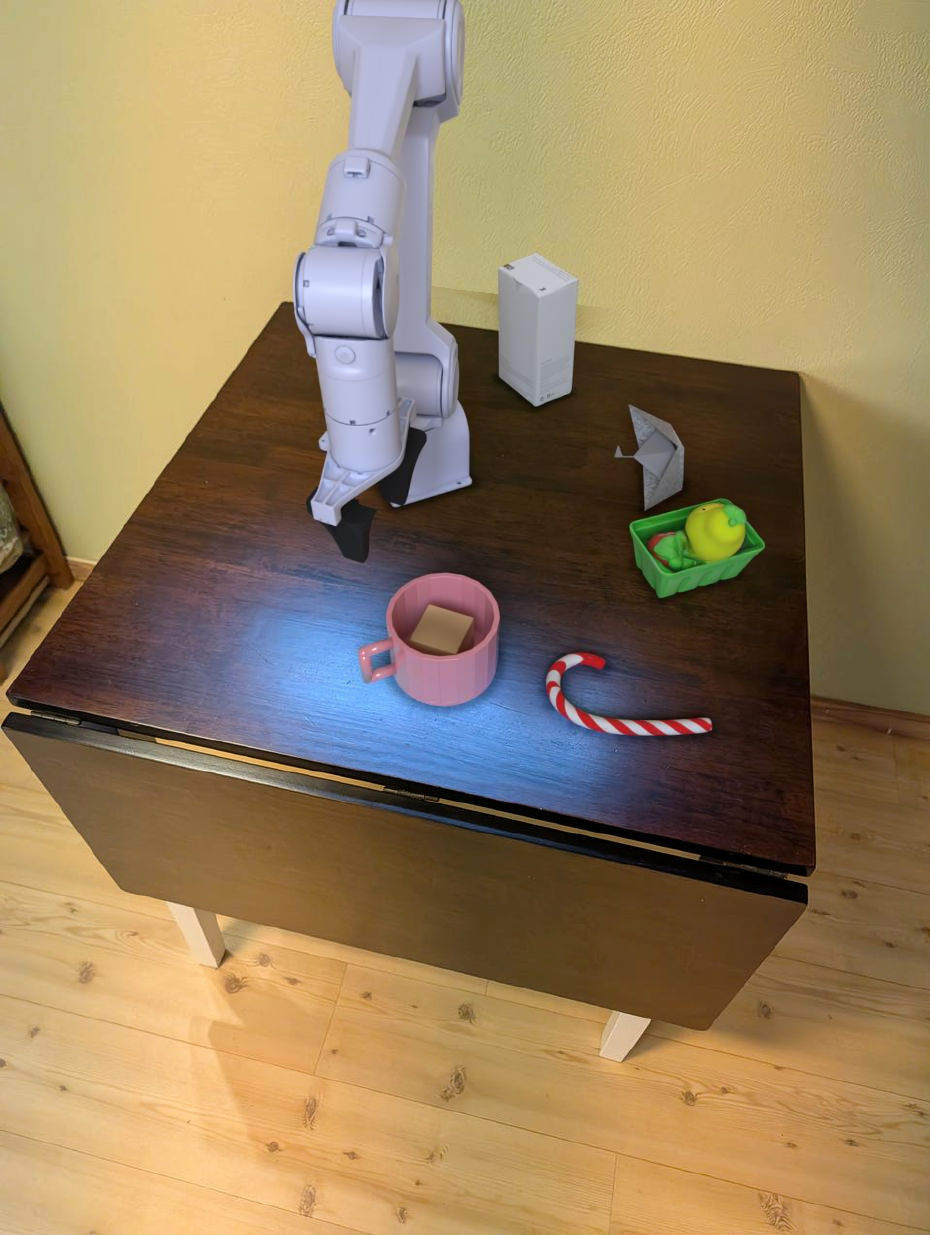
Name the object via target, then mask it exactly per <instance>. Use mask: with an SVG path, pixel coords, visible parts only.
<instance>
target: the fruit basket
mask: <svg viewBox="0 0 930 1235" xmlns="http://www.w3.org/2000/svg"><path fill="white" fill-rule="evenodd" d="M629 533H630V536H631V538H632V544H633V552H634V557H635V558H634V559H635V566H637V568H638V569H640V570H641V572H642V576H644V578H645V579H646V581H647V583H648V584H649V585H650V587H651V588H652V589H653V590H655V593H656V596H657V597H658V598H659V599H663V598H666V597H670V596H673V595H675V594H676V593H684V592H688V591H690V590H694V589H696V588H697V587H698V586H699V587H702V586H703V587H704V586H708V585H711V584H712V585H713V584H715V583H717V582H718V581H720V580H723V581H725V580H727V579H732V578H735V577H737V576H738V575H739V573H741V572H742V570H743V569H744V568H746V566H747V565H748V564H749V563H750V562H751V561H752V560H753V558H754V557H756V556H757V555H759V553H761V552H762V551H763V550H764V549H765V548H766V545H765V542H764V540H763V539H762V538H761V537H760V536H759V534H758V533H757V531H755V529H754V528H753V526H752V525H751V524H750V523H749V521H747V514H746V513H745V511H744V509H742V508H740V507H739V506H737V505H735V504H734V503H733V502H731V501H730V500H729V499H727V498H716V499H714V500H710V501H706V502H702V503H699V504H695V505H691V506H687V507H683V508H680V509H676V510H672V511H669V512H665V513H661V514H657V515H654V516H650V517H646V518H645V517H644V518H641V519H638V520H634V521H632V522H631V523H630V524H629Z"/></svg>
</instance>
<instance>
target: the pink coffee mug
mask: <svg viewBox="0 0 930 1235" xmlns="http://www.w3.org/2000/svg"><path fill="white" fill-rule="evenodd" d="M429 604H430V605H433V606H437V607H440V608H443V609H447V610H450V611H453V612H456V613H460V614H463V615H466V616H469V617H473V618H474V644H473V649H471V650H468V651H466V652H463V653H460V654H457V655H449V656H434V655H428V654H423V653H421V652H419V651H416V650H414V649H412V648H410V638H411V636H412V634H413V632H414V631H415V629H416V627H417V625H418V623H419V621H420V620H421V618H422V616H423V614H424V612H425V611H426V609H427V607H428V605H429ZM385 620H386V631H387V637H386V638H383V639H380V640H378V641H375V642H372V643H369V644H366V645H363V646H360V647H359V648H358V650H357V656H358V661H359V667H360V674H361V679H362V682H363V683H364V684H366V685H369V684H372V683H375V682H377V681H380V680H383V679H386V678H389V677H392V676H393V677H394V680H395V682H396V684H397V685H398V687H399V688H400V689H401V690H402V691H403V692H404V693H405V694H406V695H407V696H409V697H410V698H412V699H414V700H415V701H418V702H420V703H423V704H425V705H429V706H435V707H453V706H458V705H462V704H465V703H468V702H470V701H472V700H473V699H475V698H477V697H479V696H481V694H483V693H484V692H485V691H486V690H487V688H488V687H490V685H491V684H492V682H493V680H494V678H495V676H496V672H497V667H498V661H499V646H500V645H499V643H500V628H501V627H500V624H501V615H500V609H499V604H498V602H497V600H496V599H495V597H494V595H493V594H492V592H491V591H490V590H489V589H488V588H487V587H486V586H484V585H483V584H482V583H480V582H479V581H478V580H476V579H473V578H471V577H469V576H466V575H463V574H458V573H453V572H452V573H451V572H437V573H429V574H425V575H421V576H419V577H415V578H413V579H412V580H410V581H409V582H407V583H405V584H404V585H402V586H401V587H400V588H398V590H397V591H396V593H395V594H393V596H392V597H391V598H390V600H389V603H388V605H387V609H386V612H385ZM388 651H389V658H390V663H389V664H387V665H385V666H382V667H378V668H375V669H373V664H372V658H371V657H372V656H375V655H378V654H381V653H384V652H388Z"/></svg>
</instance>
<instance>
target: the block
mask: <svg viewBox="0 0 930 1235" xmlns="http://www.w3.org/2000/svg"><path fill="white" fill-rule="evenodd" d="M473 644H474V618H473V617H469V616H466V615H463V614H460V613H456V612H453V611H450V610H447V609H443V608H440V607H437V606H433V605H430V604H429V605H428V607H427V609H426V611H425V612H424V614H423V616H422V618H421V620H420V621H419V623H418V625H417V627H416V629H415V631H414V632H413V634H412V636H411V638H410V648H412V649H414V650H416V651H419V652H421V653H423V654H428V655H434V656H449V655H457V654H460V653H463V652H466V651H468V650H471V649H473Z"/></svg>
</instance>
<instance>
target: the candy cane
mask: <svg viewBox="0 0 930 1235" xmlns="http://www.w3.org/2000/svg"><path fill="white" fill-rule="evenodd" d="M606 663H607V661H606V659H605V658H603V657H601V656H599V655H596V654H593V653H589V652H581V651H579V652H572V653H569V654H566V655H564V656H562V657H560V658H558V659H557V660H556V661H555V662H553V664H552V665H551V666H550V668H549V670H548V672H547V674H546V679H545V689H546V694H547V697H548V699H549V701H550V703H551V705H552V706H553V708H554V709H555V710H556V711H557V712H558V713H559V714H560V715H562V717H564V718H565V719H567V720H568V721H569V722H571V723H573V724H575V725H577V726H580V727H582V728H586V729H588V730H592V731H595V732H599V733H605V734H612V735H625V736H677V735H679V736H680V735H693V734H702V733H708V732H710V731H712V730H713V722H712V720H711V719H710V718H708V717H695V718H680V719H660V720H659V719H656V720H652V719H651V720H650V719H648V720H646V719H620V718H610V717H603V716H599V715H594V714H591V713H588V712H586V711H583V710H581V709H579V708H578V707H576V706H575V705H573V704H572V703H571V702H569V700H567V698H566V697H565V696H564V694H563V691H562V688H561V680H562V677H563V674H564V673H565V672H566V671H567V670H568V669H570V668H572V667H574V666H579V665H584V666H588V667H591V668H594V669H596V670H603V669H604V667H605V665H606Z"/></svg>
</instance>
